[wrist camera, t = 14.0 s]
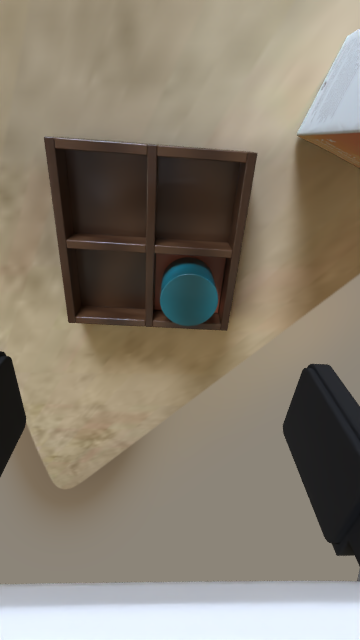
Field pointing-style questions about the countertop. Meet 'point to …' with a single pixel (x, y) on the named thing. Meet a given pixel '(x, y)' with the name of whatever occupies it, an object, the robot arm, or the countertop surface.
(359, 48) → the small box
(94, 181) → the grid
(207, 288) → the teal cylinder
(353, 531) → the robot arm
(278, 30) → the countertop surface
